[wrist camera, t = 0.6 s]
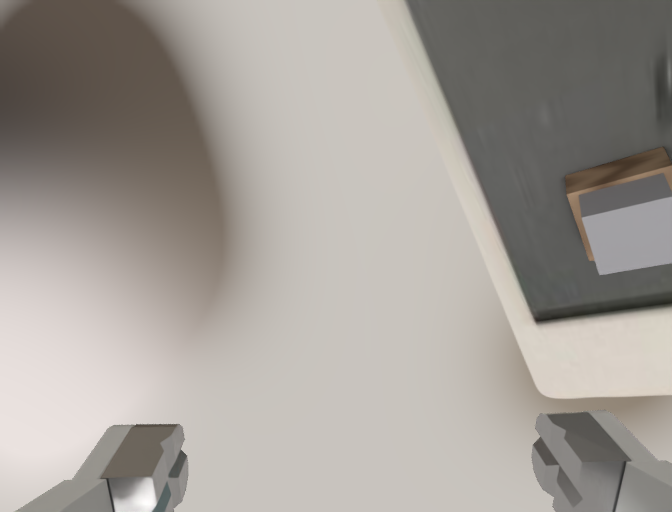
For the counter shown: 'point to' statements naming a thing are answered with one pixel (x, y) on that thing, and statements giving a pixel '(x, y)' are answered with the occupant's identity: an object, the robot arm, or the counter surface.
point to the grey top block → (629, 224)
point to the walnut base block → (614, 180)
